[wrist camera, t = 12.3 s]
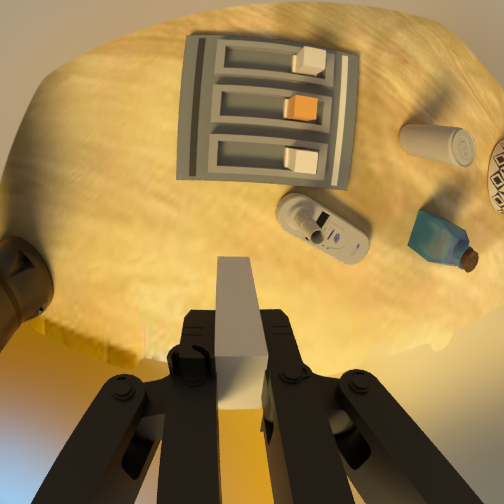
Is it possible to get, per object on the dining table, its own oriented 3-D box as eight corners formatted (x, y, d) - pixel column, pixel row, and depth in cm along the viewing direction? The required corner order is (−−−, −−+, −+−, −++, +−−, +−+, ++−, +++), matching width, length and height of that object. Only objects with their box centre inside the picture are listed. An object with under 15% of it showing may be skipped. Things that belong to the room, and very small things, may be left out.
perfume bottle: (442, 217, 39) (489, 244, 28) (431, 250, 41) (474, 283, 31) (418, 209, 38) (468, 237, 27) (407, 245, 41) (451, 280, 30)
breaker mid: (282, 118, 31) (291, 115, 26) (283, 99, 30) (292, 94, 25) (306, 121, 31) (318, 119, 26) (307, 103, 30) (320, 98, 25)
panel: (178, 178, 34) (174, 181, 31) (187, 38, 26) (184, 31, 24) (343, 188, 36) (351, 193, 34) (355, 58, 28) (363, 54, 26)
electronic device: (378, 297, 33) (282, 247, 28) (349, 263, 42) (267, 218, 37) (402, 263, 31) (310, 202, 27) (368, 234, 40) (287, 184, 36)
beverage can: (411, 118, 32) (467, 121, 21) (425, 145, 34) (480, 156, 23) (391, 133, 33) (446, 140, 22) (406, 161, 35) (460, 176, 24)
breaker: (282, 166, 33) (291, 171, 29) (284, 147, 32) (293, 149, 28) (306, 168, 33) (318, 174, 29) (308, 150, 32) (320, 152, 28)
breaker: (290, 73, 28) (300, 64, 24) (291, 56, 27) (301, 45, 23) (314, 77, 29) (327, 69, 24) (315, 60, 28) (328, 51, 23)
